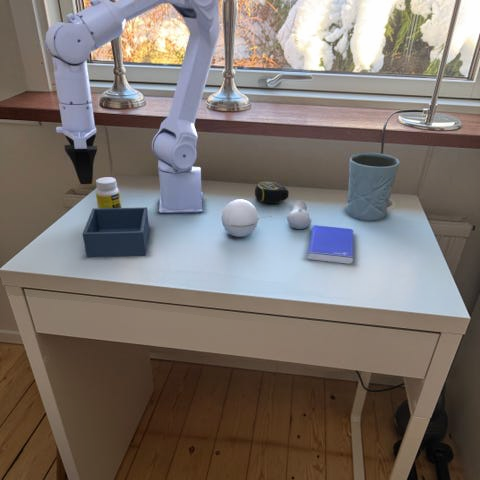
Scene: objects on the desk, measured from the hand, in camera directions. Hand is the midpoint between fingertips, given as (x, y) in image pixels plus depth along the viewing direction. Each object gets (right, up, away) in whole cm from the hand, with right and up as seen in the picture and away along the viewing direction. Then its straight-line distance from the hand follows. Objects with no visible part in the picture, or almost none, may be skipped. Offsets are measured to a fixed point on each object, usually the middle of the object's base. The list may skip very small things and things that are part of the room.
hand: (85, 177), depth 91 cm
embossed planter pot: (+58, -4, +14) cm, 60 cm away
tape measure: (+38, 0, +19) cm, 42 cm away
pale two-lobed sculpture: (+43, -8, +8) cm, 44 cm away
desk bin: (+7, -13, 0) cm, 15 cm away
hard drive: (+48, -14, 0) cm, 50 cm away
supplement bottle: (+3, -6, +9) cm, 11 cm away
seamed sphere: (+31, -11, +3) cm, 34 cm away
